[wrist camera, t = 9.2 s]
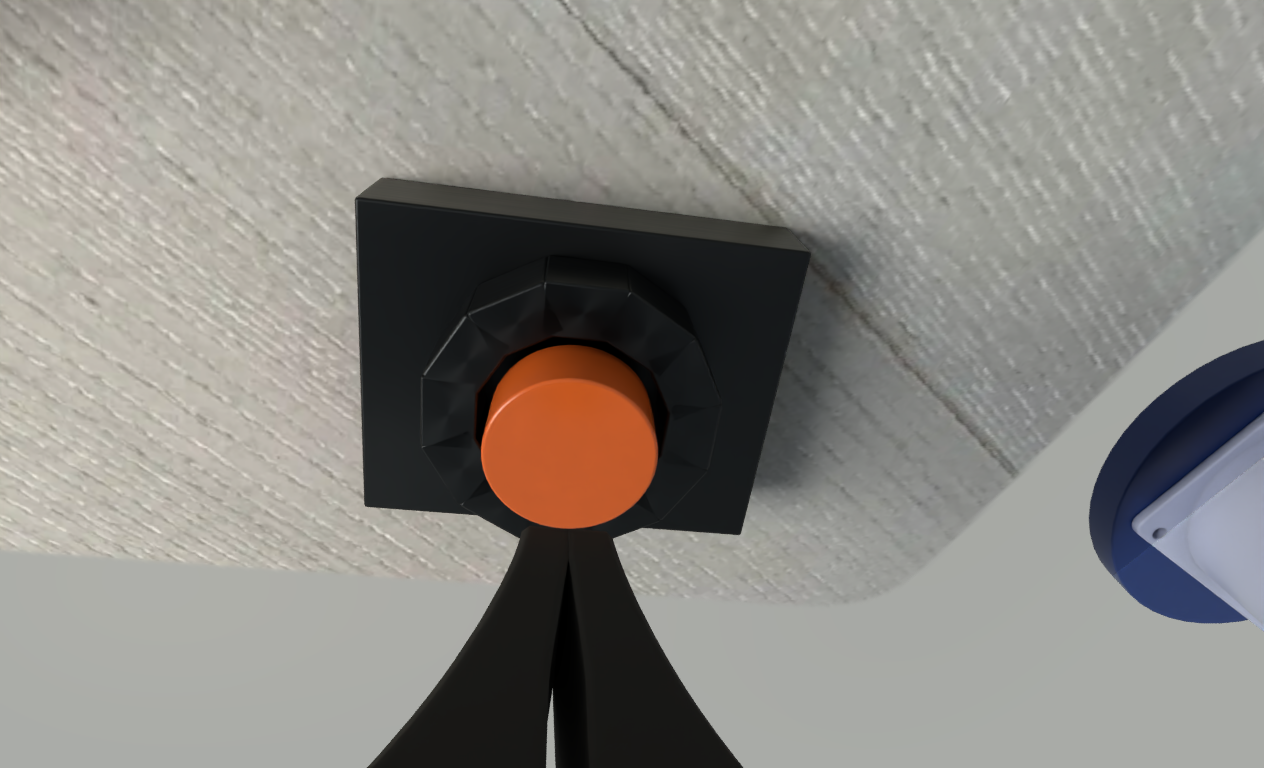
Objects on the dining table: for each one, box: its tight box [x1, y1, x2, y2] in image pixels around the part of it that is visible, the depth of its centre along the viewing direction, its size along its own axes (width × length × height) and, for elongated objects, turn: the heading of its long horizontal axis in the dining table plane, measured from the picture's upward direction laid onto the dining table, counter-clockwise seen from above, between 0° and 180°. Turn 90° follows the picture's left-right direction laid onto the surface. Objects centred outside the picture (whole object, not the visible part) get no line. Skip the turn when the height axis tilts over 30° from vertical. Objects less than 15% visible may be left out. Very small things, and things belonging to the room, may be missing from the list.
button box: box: [355, 178, 811, 538], centre depth 18 cm, size 10×8×4 cm
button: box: [481, 345, 658, 529], centre depth 16 cm, size 4×4×2 cm
